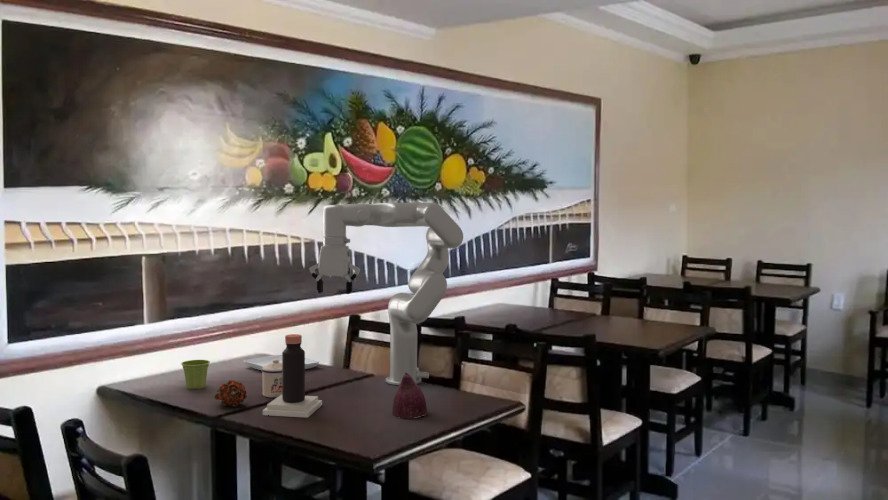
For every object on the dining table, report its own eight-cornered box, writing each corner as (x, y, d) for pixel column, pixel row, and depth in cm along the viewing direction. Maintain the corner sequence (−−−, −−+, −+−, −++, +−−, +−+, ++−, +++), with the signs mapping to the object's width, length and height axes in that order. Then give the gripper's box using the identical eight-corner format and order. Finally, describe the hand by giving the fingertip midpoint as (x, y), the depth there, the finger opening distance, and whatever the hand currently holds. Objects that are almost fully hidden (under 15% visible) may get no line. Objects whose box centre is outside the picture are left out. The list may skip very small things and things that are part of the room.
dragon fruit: (240, 415, 235) (221, 412, 244) (258, 394, 240) (239, 393, 249) (223, 395, 232) (204, 393, 240) (242, 375, 237) (223, 374, 245)
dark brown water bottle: (286, 396, 239) (286, 333, 238) (307, 397, 238) (307, 333, 237) (279, 402, 232) (279, 337, 231) (301, 403, 232) (301, 337, 230)
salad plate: (321, 369, 293) (321, 360, 292) (273, 378, 277) (273, 369, 277) (288, 361, 307) (288, 352, 307) (241, 369, 292) (241, 360, 292)
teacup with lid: (271, 399, 247) (271, 363, 246) (256, 394, 254) (256, 359, 253) (302, 393, 256) (302, 358, 255) (287, 388, 262) (287, 354, 261)
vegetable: (414, 431, 226) (412, 386, 221) (386, 420, 231) (383, 376, 226) (433, 414, 234) (432, 370, 229) (406, 404, 240) (404, 362, 235)
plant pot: (175, 389, 260) (175, 363, 259) (194, 382, 268) (193, 358, 268) (197, 391, 256) (197, 366, 255) (216, 385, 265) (215, 360, 264)
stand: (322, 405, 241) (322, 395, 241) (307, 417, 227) (307, 407, 227) (279, 402, 243) (279, 393, 243) (262, 415, 229) (262, 405, 229)
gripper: (362, 241, 257) (362, 292, 258) (312, 240, 260) (313, 291, 261) (357, 243, 250) (356, 295, 251) (305, 242, 252) (305, 293, 253)
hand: (334, 293), depth 256 cm, fingers open, 9 cm apart
